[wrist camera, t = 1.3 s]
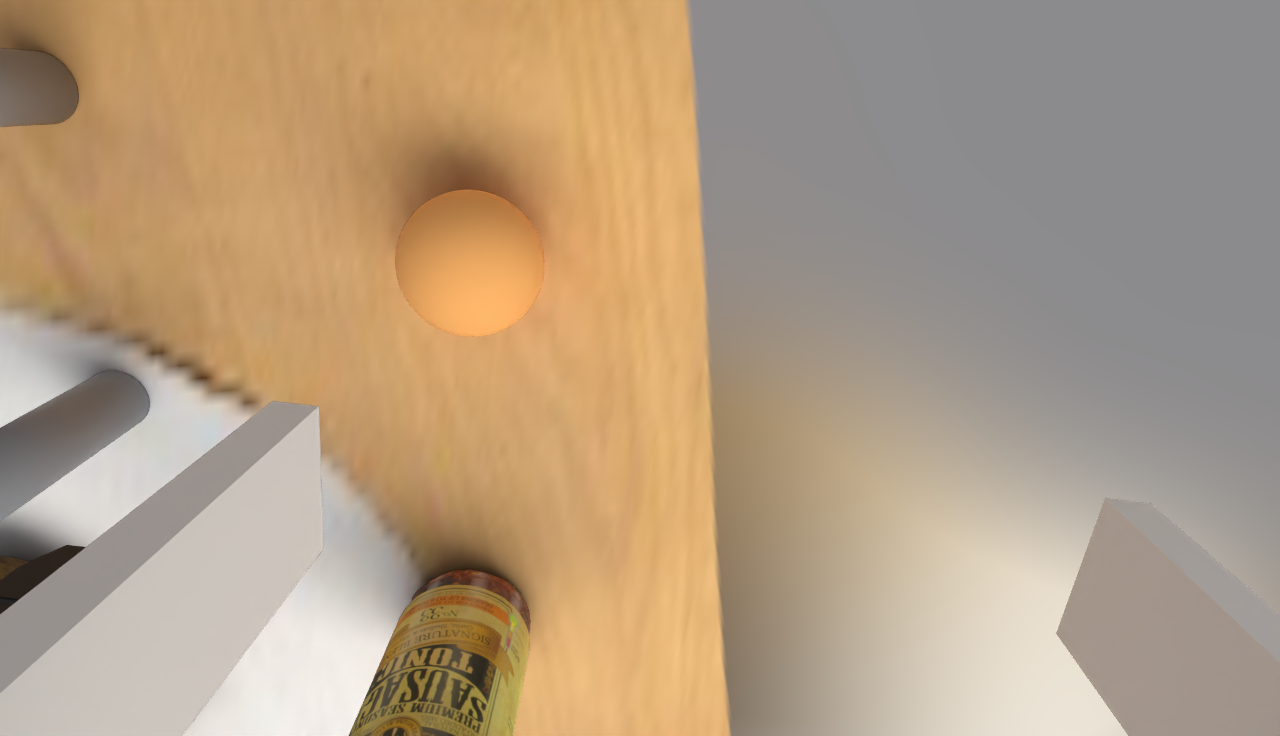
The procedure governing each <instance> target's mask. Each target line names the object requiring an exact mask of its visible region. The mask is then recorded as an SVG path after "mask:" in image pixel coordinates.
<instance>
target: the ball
mask: <svg viewBox="0 0 1280 736" xmlns="http://www.w3.org/2000/svg"><path fill="white" fill-rule="evenodd" d="M395 267H396V274H397V279H398V282H399V285H400V288H401V290H402V292H403V294H404V296H405V298H406V300H407V301H408V303H409V304H410V306H411V307H412V308H413V309H414V311H415V312H416V313H417V314H418V315H419V316H420V317H421V318H423V319H424V320H425V321H426V322H428V323H429V324H431V325H433V326H434V327H436V328H438V329H440V330H442V331H445V332H448V333H451V334H455V335H461V336H472V337H475V336H485V335H489V334H493V333H496V332H499V331H501V330H503V329H505V328H507V327H509V326H511V325H512V324H514V323H515V322H517V321H518V320H519V319H520V318H521V317H523V316H524V315H525V313H526V312H527V311H528V310H529V309H530V307H531V306H532V304H533V303H534V301H535V300H536V298H537V296H538V293H539V291H540V289H541V285H542V282H543V276H544V254H543V249H542V245H541V242H540V239H539V236H538V234H537V232H536V230H535V228H534V227H533V225H532V224H531V222H530V221H529V219H528V218H527V217H526V216H525V215H524V214H523V213H522V212H521V211H520V210H519V209H518V208H517V207H516V206H514V205H513V204H512V203H510V202H509V201H507V200H505V199H504V198H501V197H499V196H497V195H495V194H492V193H489V192H485V191H480V190H468V189H467V190H456V191H451V192H447V193H444V194H441V195H439V196H436V197H434V198H432V199H431V200H429V201H427V202H426V203H425V204H423V205H422V206H421V207H420V208H419V209H417V210H416V211H415V212H414V213H413V215H412V216H411V217H410V218H409V220H408V221H407V222H406V224H405V226H404V228H403V229H402V232H401V234H400V237H399V240H398V244H397V248H396V256H395Z"/></svg>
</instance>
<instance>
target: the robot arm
mask: <svg viewBox="0 0 1280 736" xmlns="http://www.w3.org/2000/svg"><path fill="white" fill-rule="evenodd" d="M323 549H324V540H323V512H322V484H321V455H320V427H319V406H312V405H303V404H295V403H286V402H277V401H272V402H271V403H270V404H268V405H267V406H266V407H264V408H263V409H262V410H261V411H259V412H258V413H257V414H255V415H254V416H253V417H252V418H250V419H249V420H248V421H247V422H245V423H244V424H243V425H241V426H240V427H239V428H238V429H236V430H235V431H234V432H233V433H231V434H230V435H229V436H227V437H226V438H225V439H224V440H222V441H221V442H220V443H218V444H217V445H216V446H215V447H213V448H212V449H211V450H210V451H208V452H207V453H206V454H204V455H203V456H202V457H201V458H199V459H198V460H197V461H195V462H194V463H193V464H192V465H190V466H189V467H188V468H187V469H185V470H184V471H183V472H181V473H180V474H179V475H178V476H176V477H175V478H174V479H173V480H171V481H170V482H169V483H167V484H166V485H165V486H164V487H162V488H161V489H160V490H158V491H157V492H156V493H155V494H153V495H152V496H151V497H150V498H148V499H147V500H146V501H144V502H143V503H142V504H141V505H139V506H138V507H137V508H136V509H134V510H133V511H132V512H130V513H129V514H128V515H127V516H125V517H124V518H123V519H121V520H120V521H119V522H118V523H116V524H115V525H114V526H113V527H111V528H110V529H109V530H107V531H106V532H105V533H104V534H102V535H101V536H100V537H99V538H97V539H96V540H95V541H93V542H92V543H91V544H90V545H88V546H87V547H80V546H71V545H66V546H64V547H61V548H59V549H57V550H55V551H53V552H50V553H48V554H46V555H44V556H41V557H39V558H37V559H35V560H33V561H30V562H28V563H26V564H24V565H21V566H19V567H18V568H16V569H15V570H14V571H12V572H11V573H10V574H8V575H7V576H5V577H4V578H3V579H1V580H0V736H182V735H183V734H184V733H185V731H186V730H187V729H188V727H189V726H190V725H191V724H192V722H193V721H194V720H195V718H196V717H197V716H198V714H199V713H200V712H201V710H202V709H203V708H204V706H205V705H206V704H207V702H208V701H209V700H210V698H211V697H212V696H213V694H214V693H215V692H216V690H217V689H218V688H219V686H220V685H221V684H222V682H223V681H224V680H225V679H226V677H227V676H228V675H229V673H230V672H231V671H232V669H233V668H234V667H235V665H236V664H237V663H238V661H239V660H240V659H241V657H242V656H243V655H244V653H245V652H246V651H247V649H248V648H249V647H250V645H251V644H252V643H253V641H254V640H255V639H256V638H257V636H258V635H259V634H260V632H261V631H262V630H263V628H264V627H265V626H266V624H267V623H268V622H269V620H270V619H271V618H272V616H273V615H274V614H275V612H276V611H277V610H278V608H279V607H280V606H281V604H282V603H283V602H284V600H285V599H286V598H287V596H288V595H289V594H290V593H291V591H292V590H293V589H294V587H295V586H296V585H297V583H298V582H299V581H300V579H301V578H302V577H303V575H304V574H305V573H306V571H307V570H308V569H309V567H310V566H311V565H312V563H313V562H314V561H315V559H316V558H317V557H318V555H319V554H320V553H321V551H322V550H323ZM1057 635H1058V637H1059V638H1060V639H1061V641H1062V642H1063V644H1064V645H1065V646H1066V648H1067V649H1068V651H1069V652H1070V654H1071V655H1072V656H1073V658H1074V659H1075V660H1076V662H1077V664H1078V665H1079V666H1080V668H1081V669H1082V671H1083V672H1084V673H1085V675H1086V676H1087V678H1088V679H1089V680H1090V682H1091V683H1092V685H1093V686H1094V687H1095V689H1096V690H1097V692H1098V693H1099V694H1100V696H1101V697H1102V699H1103V700H1104V701H1105V703H1106V705H1107V706H1108V707H1109V709H1110V710H1111V712H1112V713H1113V714H1114V716H1115V717H1116V719H1117V720H1118V721H1119V723H1120V724H1121V726H1122V727H1123V728H1124V730H1125V731H1126V733H1127V734H1128V736H1280V614H1279V613H1277V612H1276V611H1275V610H1274V609H1273V608H1271V607H1270V606H1269V605H1268V604H1267V603H1266V602H1265V601H1263V600H1262V599H1261V598H1260V597H1259V596H1258V595H1257V594H1255V593H1254V592H1253V591H1252V590H1251V589H1250V588H1248V587H1247V586H1246V585H1245V584H1244V583H1243V582H1241V581H1240V580H1239V579H1238V578H1237V577H1236V576H1235V575H1233V574H1232V573H1231V572H1230V571H1229V570H1228V569H1226V568H1225V567H1224V566H1223V565H1222V564H1221V563H1219V562H1218V561H1217V560H1216V559H1215V558H1214V557H1212V556H1211V555H1210V554H1209V553H1208V552H1206V550H1204V549H1203V548H1202V547H1201V546H1200V545H1199V544H1197V543H1196V542H1195V541H1194V540H1193V539H1192V538H1191V537H1189V536H1188V535H1187V534H1186V533H1185V532H1184V531H1182V530H1181V529H1180V528H1179V527H1178V526H1177V525H1175V524H1174V523H1173V522H1172V521H1171V520H1170V519H1169V518H1167V517H1166V516H1165V515H1164V514H1163V513H1161V512H1160V511H1159V510H1158V509H1157V508H1156V507H1154V506H1153V505H1152V504H1151V503H1144V502H1136V501H1127V500H1118V499H1109V498H1105V500H1104V503H1103V505H1102V508H1101V511H1100V514H1099V516H1098V519H1097V522H1096V525H1095V527H1094V530H1093V533H1092V536H1091V539H1090V542H1089V544H1088V547H1087V550H1086V552H1085V555H1084V558H1083V561H1082V564H1081V566H1080V569H1079V572H1078V575H1077V577H1076V580H1075V583H1074V586H1073V588H1072V591H1071V594H1070V597H1069V600H1068V602H1067V605H1066V608H1065V611H1064V614H1063V617H1062V619H1061V622H1060V625H1059V627H1058V630H1057Z"/></svg>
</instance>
